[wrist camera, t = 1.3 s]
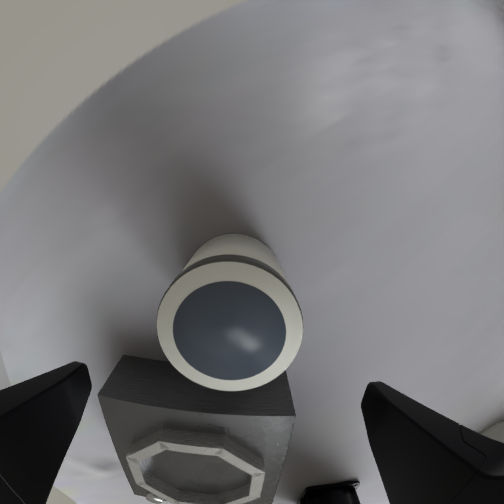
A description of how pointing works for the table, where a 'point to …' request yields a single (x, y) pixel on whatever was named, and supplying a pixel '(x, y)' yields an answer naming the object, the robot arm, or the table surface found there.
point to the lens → (230, 316)
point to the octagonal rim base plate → (196, 435)
